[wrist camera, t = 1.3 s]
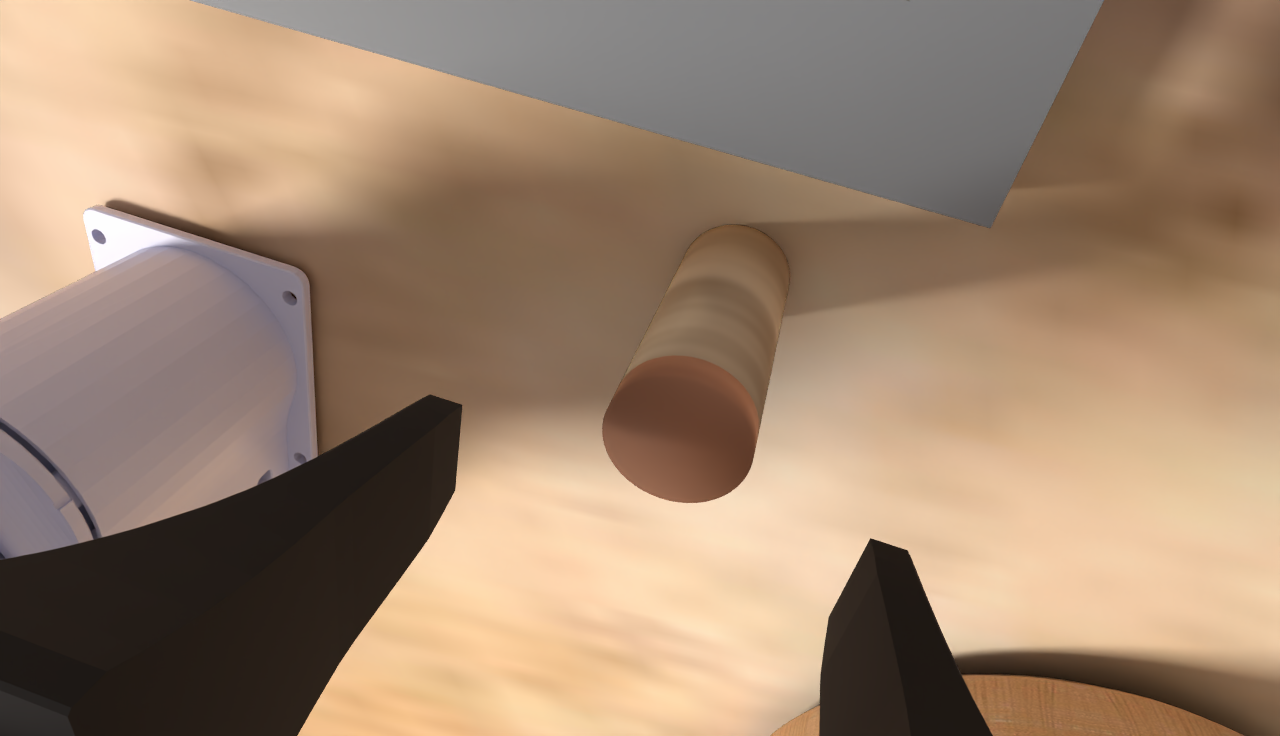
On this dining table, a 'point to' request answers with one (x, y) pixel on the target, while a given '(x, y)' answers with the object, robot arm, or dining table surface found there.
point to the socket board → (761, 76)
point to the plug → (702, 370)
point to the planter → (1058, 711)
